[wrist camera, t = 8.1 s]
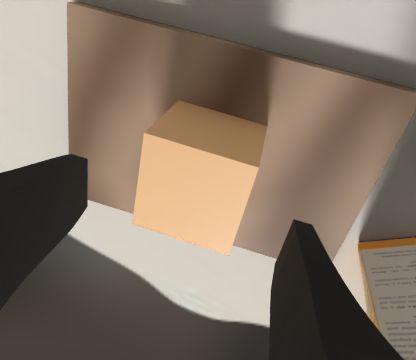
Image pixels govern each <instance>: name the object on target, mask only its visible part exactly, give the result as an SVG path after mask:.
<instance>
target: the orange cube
mask: <svg viewBox="0 0 416 360" xmlns="http://www.w3.org/2000/svg"><path fill="white" fill-rule="evenodd" d="M267 127H268V126H265V125H262V124H259V123H255V122H252V121H248V120H245V119H241V118H238V117H235V116H231V115H228V114H224V113H221V112H218V111H214V110H211V109H207V108H204V107H200V106H197V105H194V104H190V103H187V102H183V101H180V100H179V101H178V102H176V103H175V104H174V105H173V106H172V107H171V108H170V109H169V110H168V111H167V112H166V113H165V114H164V115H162V116H161V117H160V118H159V119H158V120H157V121H156V122H155V123H154V124H153V125H152V126H151V127H150V128H149V129H147V130H146V131H145V132H144V136H143V144H142V152H141V159H140V167H139V175H138V183H137V190H136V198H135V206H134V214H133V222H132V224H134V225H137V226H140V227H143V228H146V229H149V230H152V231H155V232H158V233H161V234H165V235H168V236H171V237H174V238H177V239H180V240H183V241H186V242H189V243H192V244H195V245H198V246H201V247H204V248H207V249H210V250H213V251H216V252H220V253H223V254H226V255H229V254H230V251H231V248H232V245H233V242H234V239H235V236H236V233H237V231H238V228H239V225H240V222H241V219H242V216H243V213H244V210H245V207H246V204H247V201H248V198H249V196H250V193H251V190H252V187H253V184H254V181H255V178H256V175H257V172H258V169H259V165H260V161H261V156H262V151H263V146H264V141H265V136H266V132H267Z"/></svg>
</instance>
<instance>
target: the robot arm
mask: <svg viewBox="0 0 416 360" xmlns="http://www.w3.org/2000/svg"><path fill="white" fill-rule="evenodd" d="M87 195H88V159H87V158H84V157H80V156H77V155H73V154H69V155H64V156H60V157H56V158H52V159H49V160H45V161H42V162H38V163H35V164H31V165H28V166H24V167H21V168H17V169H14V170H10V171H6V172H3V173H0V310H1V308H2V307H3V306H4V305H5V303H6V302H7V300H8V299H9V298H10V297H11V295H12V294H13V293H14V291H15V290H16V289H17V287H18V286H19V285H20V284H21V283H22V282H23V281H24V279H25V278H26V277H27V276H28V275H29V274H30V273H31V272H32V271H33V269H35V268H36V266H37V265H38V264H39V263H40V262H41V261H42V260H43V259H44V258H45V257H46V256H47V255H48V254H49V253H50V252H51V251H52V250H53V249H54V247H55V246H56V245H57V244H58V243H59V242H60V241H61V240H62V239H63V238H64V237H65V236H66V235H67V234H68V232H69V231H70V230H71V229H72V228H73V226H74V225H75V224H76V222H77V221H78V220H79V218H80V217H81V215H82V214H83V212H84V211H85V209H86V208H87ZM269 360H404V359H403V358H402V357H401V355H400V354H399V353H398V352H397V351H396V350H395V349H394V348H393V346H392V345H391V344H390V343H389V342H388V341H387V340H386V338H385V337H384V336H383V335H382V334H381V332H380V331H379V330H378V329H377V327H376V326H375V325H374V323H373V322H372V321H371V320H370V318H369V317H368V316H367V314H366V313H365V312H364V311H363V309H362V308H361V306H360V305H359V304H358V302H357V301H356V299H355V298H354V296H353V295H352V293H351V292H350V290H349V289H348V287H347V286H346V284H345V283H344V281H343V279H342V278H341V276H340V275H339V273H338V271H337V270H336V268H335V266H334V264H333V263H332V261H331V259H330V257H329V255H328V254H327V252H326V250H325V248H324V246H323V244H322V242H321V240H320V238H319V236H318V234H317V233H316V231H315V229H314V227H313V225H312V224H309V223H305V222H302V221H298V220H295V219H293V222H292V224H291V227H290V229H289V231H288V234H287V236H286V239H285V241H284V244H283V246H282V248H281V251H280V253H279V256H278V258H277V261H276V263H275V267H274V274H273V280H272V287H271V301H270V343H269Z"/></svg>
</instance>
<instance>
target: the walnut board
mask: <svg viewBox="0 0 416 360" xmlns="http://www.w3.org/2000/svg"><path fill="white" fill-rule="evenodd" d="M67 41H68V127H69V154H73V155H77V156H80V157H84V158H87V159H88V195H87V199H88V200H91V201H94V202H97V203H100V204H104V205H107V206H110V207H113V208H116V209H120V210H123V211H126V212H129V213H132V214H134V206H135V198H136V190H137V183H138V175H139V167H140V159H141V152H142V144H143V136H144V132H145V131H146V130H147V129H149V128H150V127H151V126H152V125H153V124H154V123H155V122H156V121H157V120H158V119H159V118H160V117H161V116H162V115H164V114H165V113H166V112H167V111H168V110H169V109H170V108H171V107H172V106H173V105H174V104H175V103H176V102H178V101H179V100H180V101H183V102H187V103H190V104H194V105H197V106H200V107H204V108H207V109H211V110H214V111H218V112H221V113H224V114H228V115H231V116H235V117H238V118H241V119H245V120H248V121H252V122H255V123H259V124H262V125H265V126H268V127H267V132H266V136H265V141H264V146H263V151H262V156H261V161H260V165H259V169H258V172H257V175H256V178H255V181H254V184H253V187H252V190H251V193H250V196H249V198H248V201H247V204H246V207H245V210H244V213H243V216H242V219H241V222H240V225H239V228H238V231H237V233H236V236H235V239H234V242H233V245H234V246H237V247H241V248H244V249H247V250H250V251H253V252H257V253H260V254H263V255H266V256H269V257H273V258H276V259H277V258H278V256H279V253H280V251H281V248H282V246H283V244H284V241H285V239H286V236H287V234H288V231H289V229H290V227H291V224H292V222H293V219H295V220H298V221H302V222H305V223H309V224H312V225H313V227H314V229H315V231H316V233H317V234H318V236H319V238H320V240H321V242H322V244H323V246H324V248H325V250H326V252H327V254H328V255H329V257H330V259H331V261H333V259H334V258H335V256H336V254H337V252H338V250H339V248H340V247H341V245H342V243H343V241H344V239H345V238H346V236H347V234H348V232H349V230H350V228H351V227H352V225H353V223H354V221H355V219H356V218H357V216H358V214H359V212H360V210H361V208H362V207H363V205H364V203H365V201H366V199H367V198H368V196H369V194H370V192H371V190H372V188H373V187H374V185H375V183H376V181H377V179H378V178H379V176H380V174H381V172H382V170H383V168H384V167H385V165H386V163H387V161H388V159H389V158H390V156H391V154H392V152H393V150H394V148H395V147H396V145H397V143H398V141H399V139H400V138H401V136H402V134H403V132H404V130H405V128H406V127H407V125H408V123H409V121H410V119H411V117H412V116H413V114H414V112H415V110H416V90H415V89H411V88H408V87H404V86H400V85H396V84H392V83H388V82H384V81H381V80H377V79H373V78H369V77H365V76H361V75H357V74H354V73H350V72H346V71H342V70H338V69H334V68H330V67H327V66H323V65H319V64H315V63H311V62H307V61H303V60H300V59H296V58H292V57H288V56H284V55H280V54H276V53H273V52H269V51H265V50H261V49H257V48H253V47H249V46H246V45H242V44H238V43H234V42H230V41H226V40H222V39H219V38H215V37H211V36H207V35H203V34H199V33H195V32H192V31H188V30H184V29H180V28H176V27H172V26H168V25H165V24H161V23H157V22H153V21H149V20H145V19H141V18H138V17H134V16H130V15H126V14H122V13H118V12H114V11H110V10H107V9H103V8H99V7H95V6H91V5H87V4H83V3H80V2H68V3H67Z"/></svg>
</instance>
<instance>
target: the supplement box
mask: <svg viewBox="0 0 416 360" xmlns="http://www.w3.org/2000/svg"><path fill="white" fill-rule="evenodd" d="M358 252H359V258H360V264H361V271H362V277H363V284H364V290H365V297H366V306H367V315H368V317H369V318H370V320H371V321H372V322H373V323H374V325H375V326H376V327H377V329H378V330H379V331H380V332H381V334H382V335H383V336H384V337H385V338H386V340H387V341H388V342H389V343H390V344H391V345H392V346H393V348H394V349H395V350H396V351H397V352H398V353H399V354H400V355H401V357H402V358H403V359H404V360H416V238H415V237H412V238H403V239H392V240H381V241H368V242H360V243H359V244H358Z"/></svg>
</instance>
